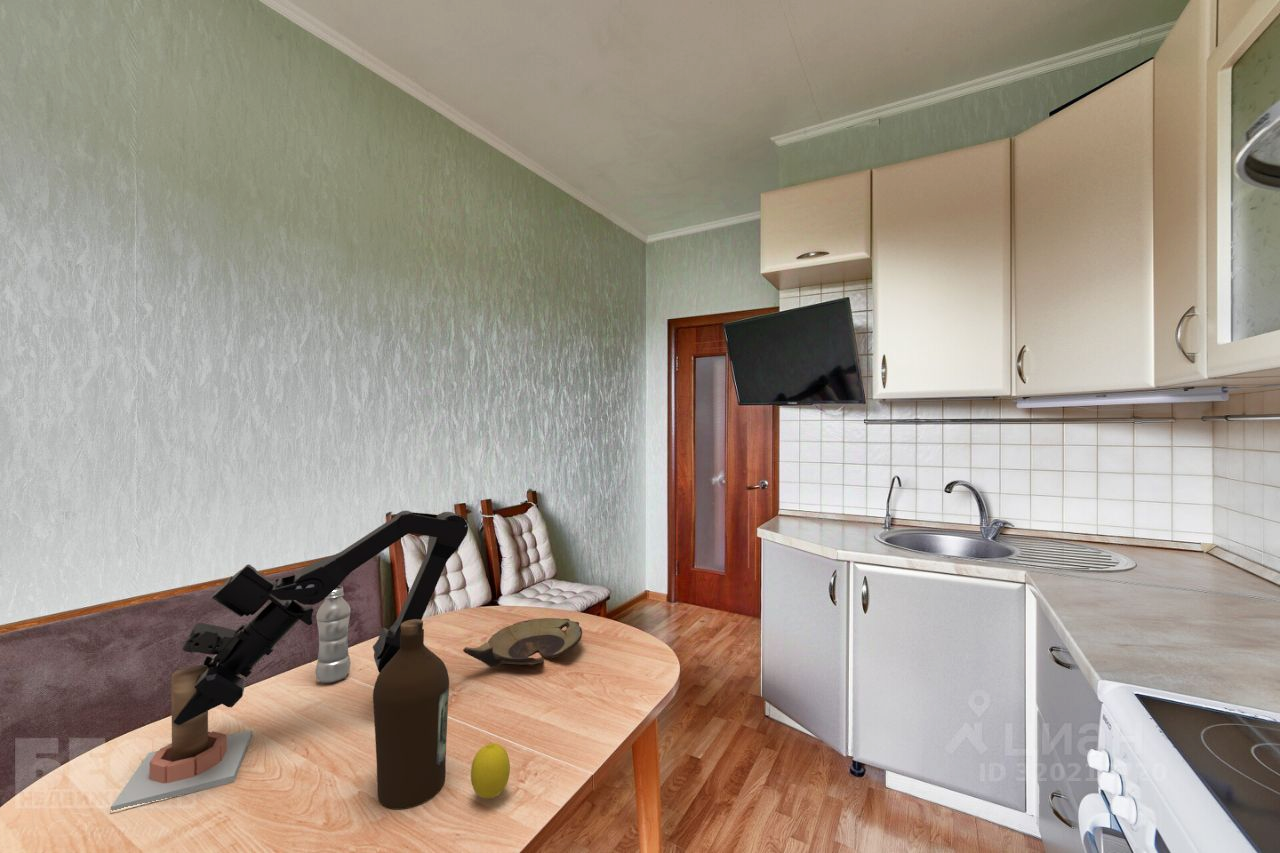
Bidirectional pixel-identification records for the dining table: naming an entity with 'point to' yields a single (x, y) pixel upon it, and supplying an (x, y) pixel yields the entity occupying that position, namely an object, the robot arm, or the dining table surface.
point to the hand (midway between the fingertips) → (179, 716)
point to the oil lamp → (528, 642)
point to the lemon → (490, 770)
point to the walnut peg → (194, 732)
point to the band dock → (185, 770)
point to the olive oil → (411, 722)
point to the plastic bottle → (333, 638)
